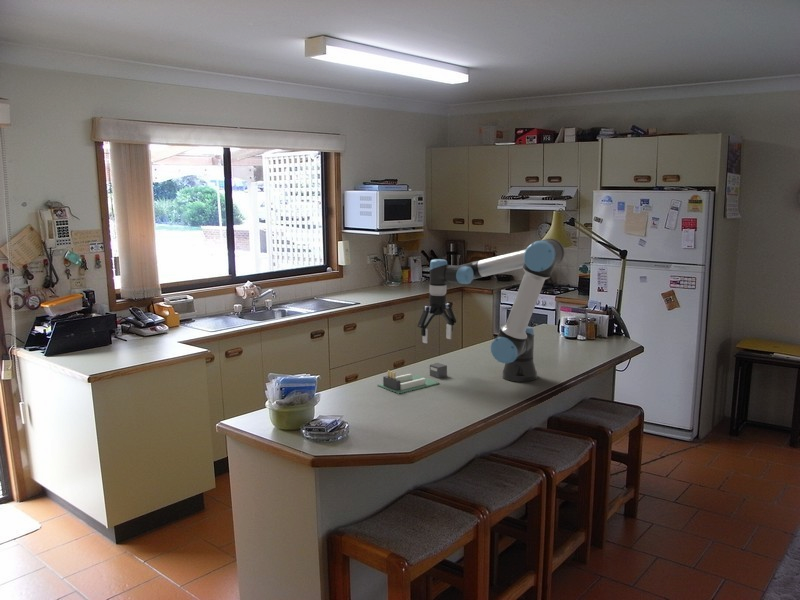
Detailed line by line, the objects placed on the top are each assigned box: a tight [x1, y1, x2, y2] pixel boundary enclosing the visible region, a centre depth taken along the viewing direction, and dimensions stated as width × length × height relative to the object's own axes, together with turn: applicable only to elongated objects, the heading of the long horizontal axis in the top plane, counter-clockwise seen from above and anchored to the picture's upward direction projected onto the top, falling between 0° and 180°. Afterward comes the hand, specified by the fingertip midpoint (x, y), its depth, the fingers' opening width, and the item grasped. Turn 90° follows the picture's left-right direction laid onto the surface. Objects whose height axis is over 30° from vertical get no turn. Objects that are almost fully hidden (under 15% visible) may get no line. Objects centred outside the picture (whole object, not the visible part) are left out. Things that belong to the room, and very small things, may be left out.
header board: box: [377, 369, 440, 394], centre depth 287 cm, size 15×22×8 cm
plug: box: [429, 362, 448, 379], centre depth 300 cm, size 6×5×5 cm
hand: (436, 340), depth 301 cm, fingers open, 13 cm apart
